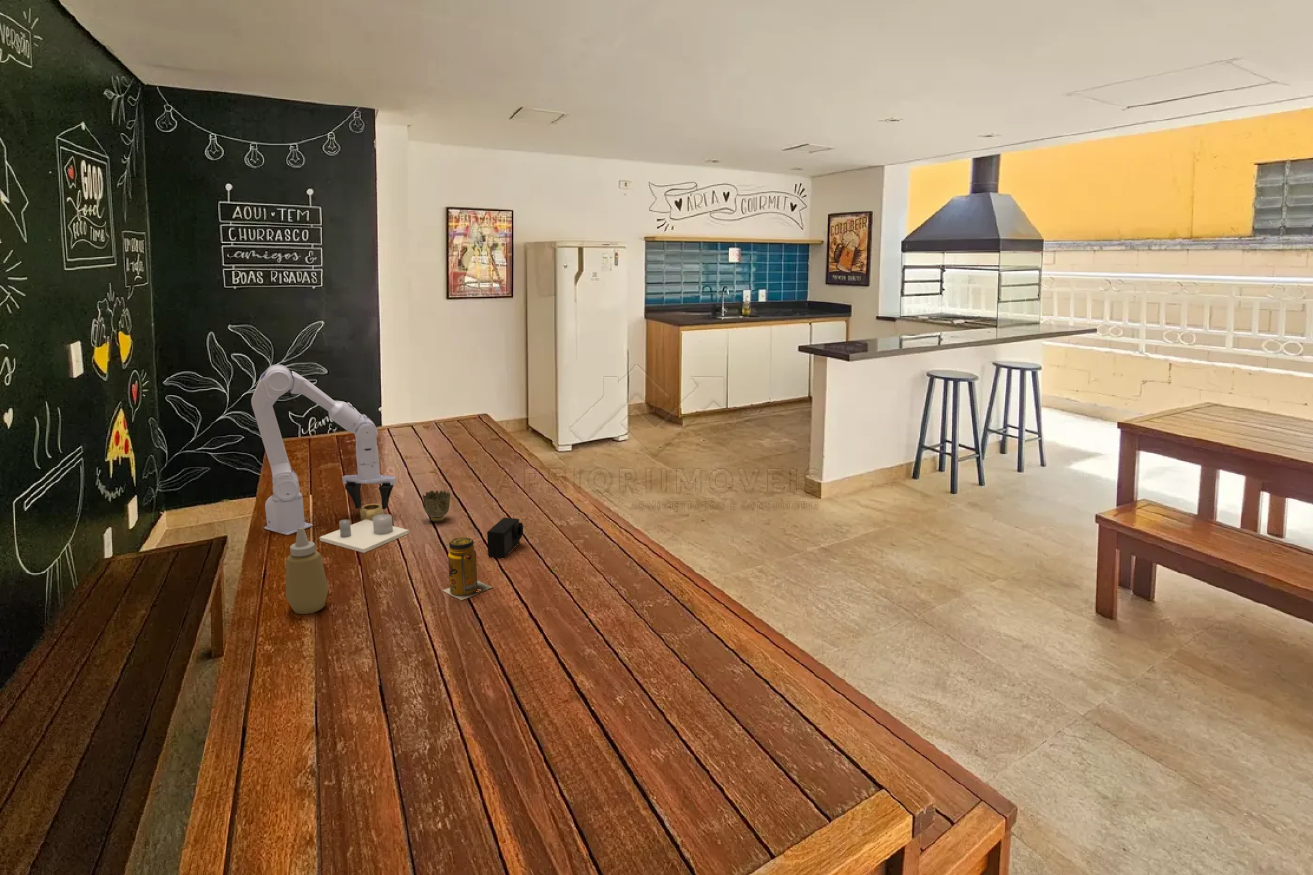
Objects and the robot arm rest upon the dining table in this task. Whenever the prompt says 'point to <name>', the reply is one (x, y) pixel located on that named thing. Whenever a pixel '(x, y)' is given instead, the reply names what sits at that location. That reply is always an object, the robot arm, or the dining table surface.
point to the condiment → (463, 569)
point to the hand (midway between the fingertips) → (371, 507)
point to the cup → (437, 504)
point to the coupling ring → (370, 511)
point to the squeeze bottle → (305, 576)
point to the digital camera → (504, 537)
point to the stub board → (365, 533)
